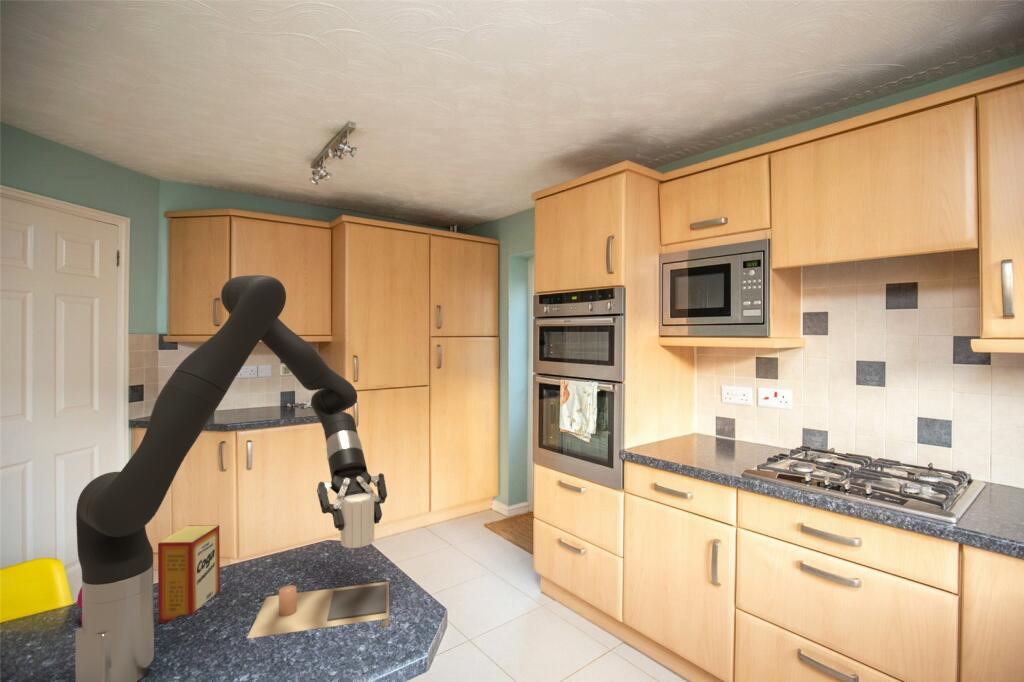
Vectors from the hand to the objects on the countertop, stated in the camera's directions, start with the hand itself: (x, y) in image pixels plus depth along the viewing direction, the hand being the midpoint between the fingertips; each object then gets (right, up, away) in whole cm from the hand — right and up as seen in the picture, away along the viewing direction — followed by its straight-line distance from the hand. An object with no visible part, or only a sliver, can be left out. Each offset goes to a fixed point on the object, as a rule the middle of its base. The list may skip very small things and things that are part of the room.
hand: (359, 524), depth 99 cm
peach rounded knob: (-14, -17, -2) cm, 22 cm away
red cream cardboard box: (-36, -19, +2) cm, 40 cm away
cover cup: (-1, -4, +1) cm, 4 cm away
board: (-7, -18, 0) cm, 19 cm away
